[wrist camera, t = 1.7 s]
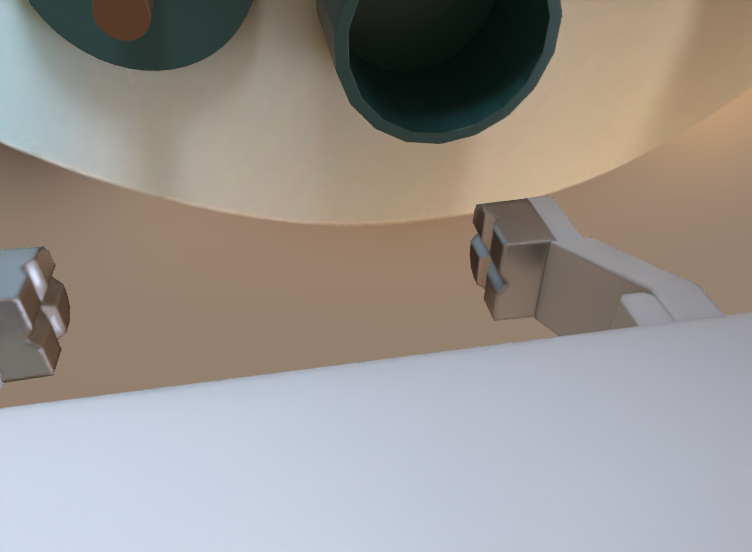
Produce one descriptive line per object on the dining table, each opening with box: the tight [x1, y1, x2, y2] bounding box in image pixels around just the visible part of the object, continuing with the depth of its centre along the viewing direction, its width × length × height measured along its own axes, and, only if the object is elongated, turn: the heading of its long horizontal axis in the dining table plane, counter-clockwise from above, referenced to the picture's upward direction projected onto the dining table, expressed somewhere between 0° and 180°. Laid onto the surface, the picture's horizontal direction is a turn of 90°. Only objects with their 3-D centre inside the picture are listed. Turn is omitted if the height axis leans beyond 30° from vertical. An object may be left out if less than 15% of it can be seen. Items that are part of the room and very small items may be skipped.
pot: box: [316, 0, 562, 144], centre depth 41 cm, size 14×14×10 cm
